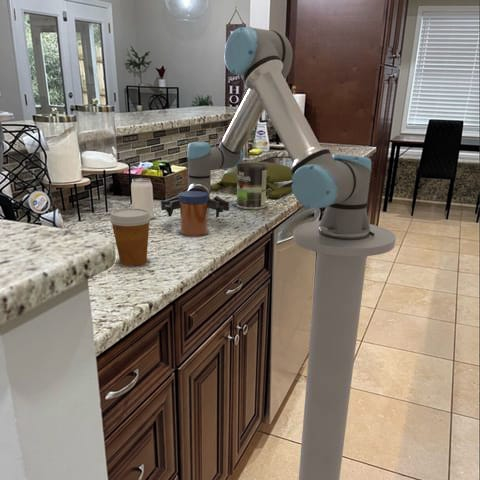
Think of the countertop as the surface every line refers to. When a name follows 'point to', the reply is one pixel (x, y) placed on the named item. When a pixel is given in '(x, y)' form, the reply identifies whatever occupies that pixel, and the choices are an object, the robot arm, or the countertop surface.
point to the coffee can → (251, 185)
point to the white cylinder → (142, 195)
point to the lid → (193, 197)
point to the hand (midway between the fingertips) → (193, 212)
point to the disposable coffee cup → (131, 234)
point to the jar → (193, 219)
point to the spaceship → (273, 175)
